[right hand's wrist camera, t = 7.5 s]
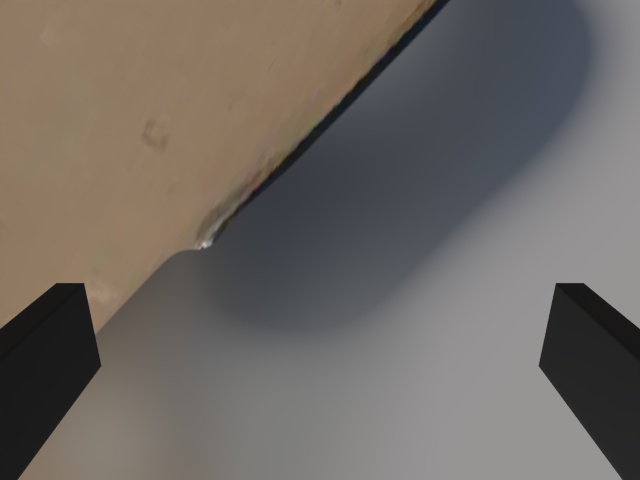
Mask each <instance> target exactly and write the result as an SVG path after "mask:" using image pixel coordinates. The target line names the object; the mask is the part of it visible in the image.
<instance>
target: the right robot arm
mask: <svg viewBox="0 0 640 480" xmlns="http://www.w3.org/2000/svg"><path fill="white" fill-rule="evenodd" d="M100 367H101V362H100V358H99V353H98V348H97V343H96V338H95V334H94V329H93V324H92V319H91V314H90V310H89V305H88V300H87V295H86V290H85V286H84V283H56V284H55V285H54V286H52V287H51V288H50V289H49V290H48V291H46V292H45V293H44V294H43V295H41V296H40V297H39V298H38V299H36V300H35V301H34V302H33V303H32V304H30V305H29V306H28V307H27V308H25V309H24V310H23V311H22V312H21V313H19V314H18V315H17V316H16V317H14V318H13V319H12V320H11V321H9V322H8V323H7V324H6V325H5V326H3V327H2V328H1V329H0V480H18V478H19V477H20V476H21V474H22V473H23V472H24V470H25V469H26V467H27V466H28V465H29V463H30V462H31V461H32V459H33V458H34V457H35V455H36V454H37V453H38V451H39V450H40V448H41V447H42V446H43V444H44V443H45V442H46V440H47V439H48V438H49V436H50V435H51V434H52V432H53V431H54V429H55V428H56V427H57V425H58V424H59V423H60V421H61V420H62V419H63V417H64V416H65V414H66V413H67V412H68V410H69V409H70V408H71V406H72V405H73V404H74V402H75V401H76V400H77V398H78V397H79V395H80V394H81V393H82V391H83V390H84V389H85V387H86V386H87V385H88V383H89V382H90V380H91V379H92V378H93V376H94V375H95V374H96V372H97V371H98V370H99V368H100ZM539 367H540V368H541V370H542V371H543V372H544V374H545V375H546V376H547V378H548V379H549V380H550V382H551V383H552V385H553V386H554V387H555V389H556V390H557V391H558V393H559V394H560V395H561V397H562V398H563V400H564V401H565V402H566V404H567V405H568V406H569V408H570V409H571V410H572V412H573V413H574V414H575V416H576V417H577V418H578V420H579V421H580V423H581V424H582V425H583V427H584V428H585V429H586V431H587V432H588V434H589V435H590V436H591V438H592V439H593V440H594V442H595V443H596V444H597V446H598V447H599V448H600V450H601V451H602V453H603V454H604V455H605V457H606V458H607V459H608V461H609V462H610V463H611V465H612V466H613V468H614V469H615V470H616V472H617V473H618V474H619V476H620V477H621V478H622V480H640V329H639V328H638V327H637V326H635V325H634V324H633V323H632V322H631V321H629V320H628V319H627V318H626V317H624V316H623V315H622V314H621V313H619V312H618V311H617V310H616V309H615V308H613V307H612V306H611V305H610V304H608V303H607V302H606V301H605V300H604V299H602V298H601V297H600V296H599V295H597V294H596V293H595V292H594V291H592V290H591V289H590V288H589V287H588V286H586V285H585V284H584V283H556V286H555V290H554V295H553V300H552V305H551V310H550V314H549V319H548V324H547V329H546V334H545V339H544V344H543V348H542V353H541V358H540V362H539Z"/></svg>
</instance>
